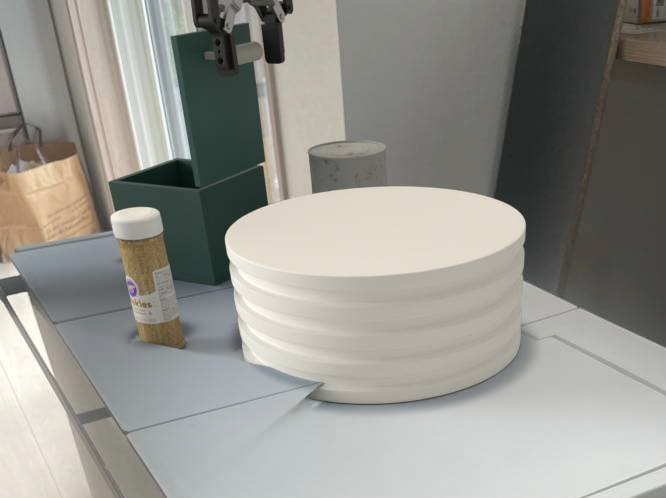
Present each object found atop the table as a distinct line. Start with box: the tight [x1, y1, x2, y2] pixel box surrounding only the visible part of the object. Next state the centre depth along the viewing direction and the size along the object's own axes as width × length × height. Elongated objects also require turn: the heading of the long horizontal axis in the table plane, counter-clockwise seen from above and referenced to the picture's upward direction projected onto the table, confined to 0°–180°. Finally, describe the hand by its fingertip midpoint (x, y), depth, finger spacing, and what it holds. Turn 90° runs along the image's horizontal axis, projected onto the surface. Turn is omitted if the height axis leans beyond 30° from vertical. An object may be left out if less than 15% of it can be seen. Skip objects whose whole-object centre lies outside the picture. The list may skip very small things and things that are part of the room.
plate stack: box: [225, 185, 527, 405], centre depth 82 cm, size 28×28×12 cm
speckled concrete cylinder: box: [307, 139, 388, 194], centre depth 105 cm, size 10×10×12 cm
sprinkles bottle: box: [110, 207, 186, 350], centre depth 82 cm, size 5×5×13 cm
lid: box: [169, 22, 266, 187], centre depth 93 cm, size 14×13×5 cm
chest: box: [107, 157, 269, 287], centre depth 104 cm, size 14×13×11 cm
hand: (252, 69), depth 90 cm, fingers open, 8 cm apart
